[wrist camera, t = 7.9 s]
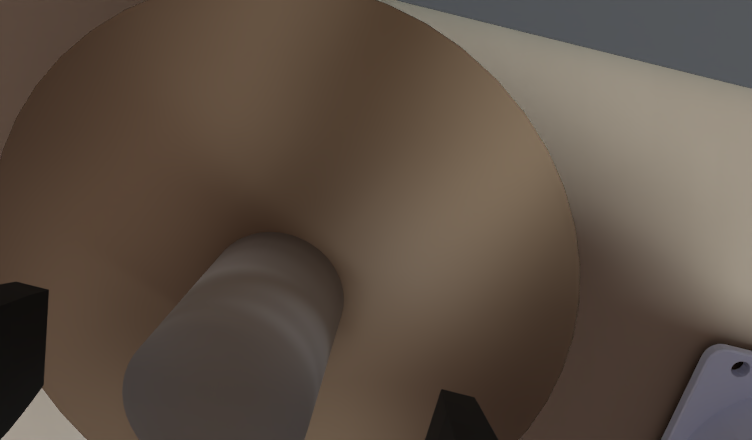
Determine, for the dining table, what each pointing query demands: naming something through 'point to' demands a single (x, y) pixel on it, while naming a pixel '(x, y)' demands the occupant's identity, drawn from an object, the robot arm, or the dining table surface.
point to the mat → (633, 29)
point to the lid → (285, 227)
